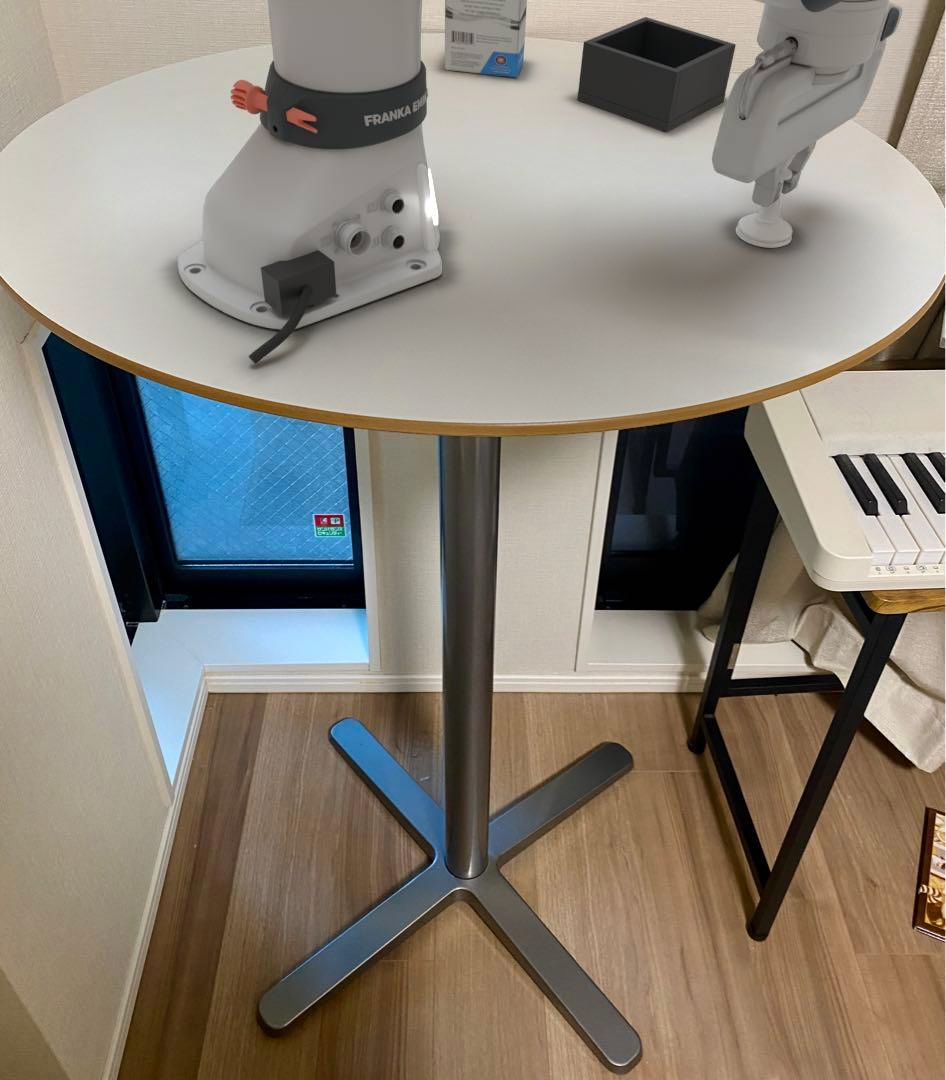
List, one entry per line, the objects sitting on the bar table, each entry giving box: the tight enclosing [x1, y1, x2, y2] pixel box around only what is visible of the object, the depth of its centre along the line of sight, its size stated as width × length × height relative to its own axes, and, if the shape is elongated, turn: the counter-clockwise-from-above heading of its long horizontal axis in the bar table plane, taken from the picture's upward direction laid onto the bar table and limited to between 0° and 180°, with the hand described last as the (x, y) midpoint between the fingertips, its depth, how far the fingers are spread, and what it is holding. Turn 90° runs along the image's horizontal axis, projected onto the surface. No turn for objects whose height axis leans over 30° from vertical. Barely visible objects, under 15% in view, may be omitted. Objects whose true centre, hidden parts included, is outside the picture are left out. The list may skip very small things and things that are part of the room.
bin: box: [576, 16, 736, 133], centre depth 107 cm, size 12×12×6 cm
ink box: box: [444, 0, 528, 78], centre depth 110 cm, size 9×5×12 cm, turn 77°
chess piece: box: [735, 154, 796, 249], centre depth 85 cm, size 5×5×10 cm
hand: (773, 196), depth 86 cm, fingers closed on chess piece
